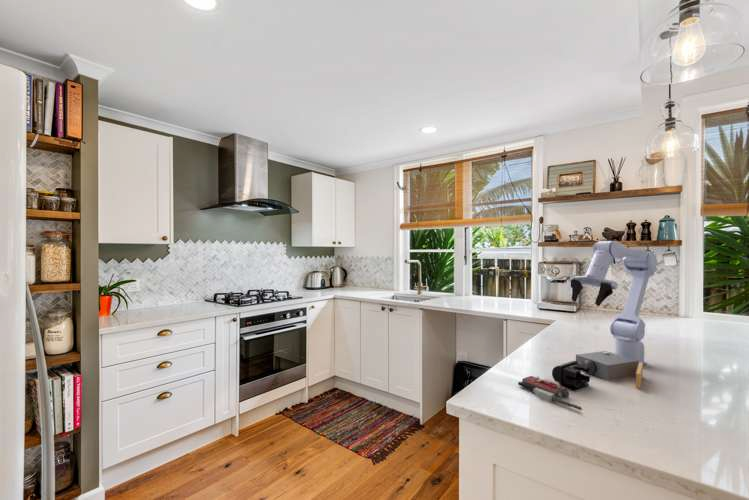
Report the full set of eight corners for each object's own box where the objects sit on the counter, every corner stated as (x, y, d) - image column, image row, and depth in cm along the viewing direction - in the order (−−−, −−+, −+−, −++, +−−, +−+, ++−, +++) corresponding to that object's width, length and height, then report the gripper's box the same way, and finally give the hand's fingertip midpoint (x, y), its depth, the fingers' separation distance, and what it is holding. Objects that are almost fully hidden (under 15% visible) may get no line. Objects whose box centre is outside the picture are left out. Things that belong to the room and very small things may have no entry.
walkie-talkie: (513, 389, 108) (579, 415, 91) (513, 375, 108) (579, 398, 91) (530, 383, 113) (596, 407, 96) (530, 369, 113) (596, 391, 96)
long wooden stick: (639, 375, 119) (639, 362, 119) (642, 376, 118) (642, 362, 118) (635, 387, 108) (636, 373, 108) (639, 388, 108) (640, 373, 107)
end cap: (567, 378, 117) (568, 358, 116) (590, 385, 111) (590, 364, 111) (551, 384, 111) (551, 363, 111) (574, 392, 105) (574, 370, 105)
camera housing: (605, 364, 131) (605, 349, 131) (638, 375, 120) (638, 359, 120) (572, 368, 126) (572, 353, 126) (604, 380, 114) (604, 363, 114)
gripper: (572, 261, 127) (559, 292, 123) (617, 265, 115) (604, 300, 111) (579, 271, 130) (566, 302, 127) (623, 277, 119) (611, 311, 115)
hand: (584, 302), depth 119 cm, fingers open, 7 cm apart
